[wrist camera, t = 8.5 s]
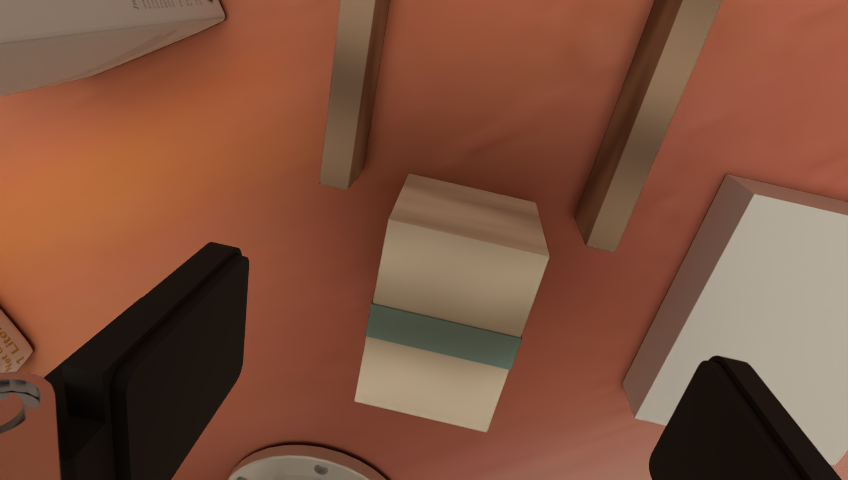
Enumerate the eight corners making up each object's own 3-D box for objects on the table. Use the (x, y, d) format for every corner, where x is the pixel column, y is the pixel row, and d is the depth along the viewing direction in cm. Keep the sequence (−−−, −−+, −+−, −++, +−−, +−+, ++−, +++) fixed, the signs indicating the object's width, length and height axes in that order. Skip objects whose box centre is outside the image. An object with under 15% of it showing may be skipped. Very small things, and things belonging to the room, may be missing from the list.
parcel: (487, 354, 27) (487, 434, 22) (377, 328, 27) (352, 402, 22) (536, 202, 23) (551, 258, 18) (407, 172, 23) (386, 220, 18)
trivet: (805, 426, 27) (834, 465, 25) (621, 383, 27) (634, 418, 25) (955, 226, 22) (1010, 253, 19) (726, 173, 22) (754, 193, 19)
